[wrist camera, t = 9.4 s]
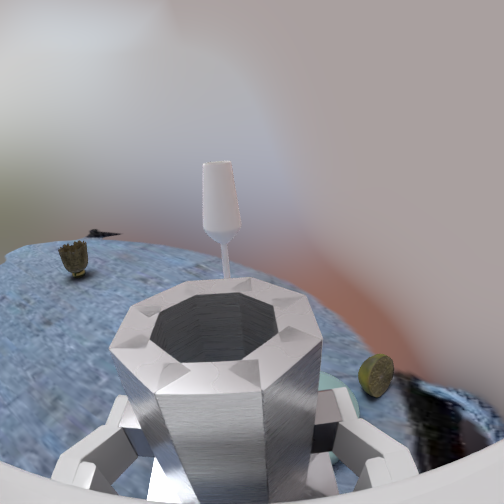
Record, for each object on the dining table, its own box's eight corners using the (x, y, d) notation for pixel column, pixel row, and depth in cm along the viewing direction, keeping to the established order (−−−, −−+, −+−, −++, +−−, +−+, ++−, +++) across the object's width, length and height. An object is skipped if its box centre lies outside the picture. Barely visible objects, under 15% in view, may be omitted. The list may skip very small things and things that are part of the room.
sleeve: (248, 599, 6) (197, 546, 3) (125, 487, 12) (32, 323, 8) (364, 476, 12) (419, 301, 8) (240, 409, 17) (222, 246, 14)
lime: (391, 377, 36) (398, 347, 34) (389, 404, 32) (398, 374, 30) (357, 374, 38) (363, 343, 36) (352, 400, 34) (359, 370, 32)
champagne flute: (207, 300, 59) (192, 166, 50) (214, 283, 65) (202, 162, 56) (244, 300, 58) (233, 163, 49) (248, 283, 64) (239, 159, 55)
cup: (92, 267, 76) (85, 238, 73) (94, 277, 70) (86, 246, 67) (66, 274, 73) (58, 245, 70) (65, 285, 67) (57, 253, 64)
